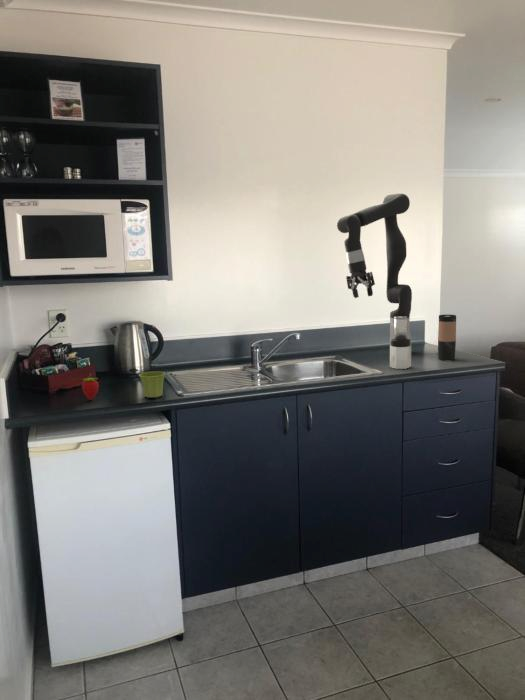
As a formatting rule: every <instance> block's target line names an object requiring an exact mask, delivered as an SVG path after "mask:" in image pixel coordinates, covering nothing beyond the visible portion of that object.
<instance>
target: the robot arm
mask: <svg viewBox="0 0 525 700" xmlns="http://www.w3.org/2000/svg"><path fill="white" fill-rule="evenodd" d="M410 201H411V200H410V198H409V197H408V195H407V194H405V193H392V194H387V195H386V196H385V197H384V198H383V200H382V203H381V204H377V205H372V206H370V207H369V206H368V207H366V208H363V209H360V210H358V211H357V212H354V213H352V214H349V215H345V216H343V217H340V218H339V219H338V221H337V225H336V227H337V230H338V231H339V232H340V233H341V234H348V236H347V238H346V239H344V242H343V243H344V249H345V253H346V261H347V266H348V269H349V275H347V276H346V278H345V279H346V285H347V289H348V290H351V291H352V296H353V297H354V299H357V298H359V297H360V296H359V291H358V289H357V288H358V285H359V284H362V285H364V286H365V288H366V292H367V293H366V294H367V297H372V296H373V294H374V292H373V286H375V285H376V283H375V282H376V281H375V280H374V279H375V277H374V275H373V272H372V271H369V272H367V264H366V260H365V259H366V258H365V255H364V250H363V247H362V242H361V233H362V227H366V226H368V225H370V224H372V223H375V222H376V221H379V220H382V219H383V220H384V228H385V240H386V241H385V242H386V243H385V245H386V246H385V247H386V252H385V253H386V263H387V264H386V266H387V269H386V271H387V272H386V273H387V274H386V277H387V278H386V299H387V302H388V303H390V304H398V307H397V309H395V310H392V311H391V312H389V313H390V314H389V347H390V346H391V339H394V317H395V316H407V339H410V345H411V346H412V333H411V332H410V323H411V322H410V319H411V317H410V316H411V310H412V299H413V298H412V297H413V292H412V287H411V286H410V285H408V284H399V274H400V271H401V269H402V267H403V265H404V263H405V261H406V258H407V242H406V239H405V236H404V234H403V233H402V231H401V230H400V228H399V224H398V217H397V215H402V214H404V213H406V212H407V211H408V210H409V208H410V203H411V202H410Z"/></svg>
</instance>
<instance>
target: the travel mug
mask: <svg viewBox="0 0 525 700" xmlns="http://www.w3.org/2000/svg"><path fill="white" fill-rule="evenodd" d="M437 331H438V335H437V353H438V354H437V359H438V360H439V359H440V360H439V361H444V360H451V361H455V360H454V359H456V345H457V315H456V314H439V315H438V329H437Z"/></svg>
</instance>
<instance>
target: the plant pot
mask: <svg viewBox="0 0 525 700" xmlns="http://www.w3.org/2000/svg"><path fill="white" fill-rule="evenodd" d="M165 375H166V372H165V371H158V370H157V371H146V372H142V373H140V374H138V377H140V378H139V379H140V381H141V385H142V388H143V394H144V397H145V396H146V397H158V396H161V395H162V396H163V391H164V390H163V389H164V379H165ZM158 398H159V397H158Z"/></svg>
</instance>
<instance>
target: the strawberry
mask: <svg viewBox="0 0 525 700" xmlns="http://www.w3.org/2000/svg"><path fill="white" fill-rule="evenodd" d="M91 375H92V373H90V375H89V376H88V377H87V378H83V379H82V383H81V390H82V392H83V394H84V395H85V397H87V399H88V400H89V399H93V400H94V398H95V397H96V395H97V393H98V391H99V387H100V385H99V382H98V381H97V380H98V378H97V377H90V376H91Z"/></svg>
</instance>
